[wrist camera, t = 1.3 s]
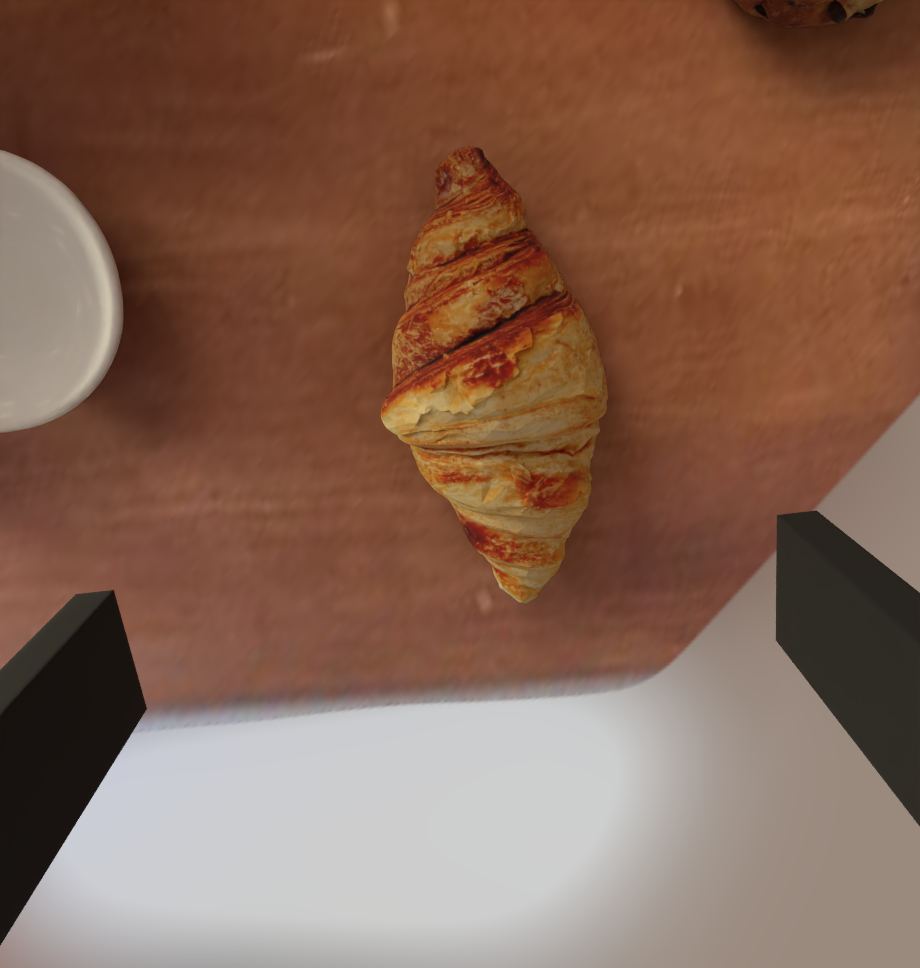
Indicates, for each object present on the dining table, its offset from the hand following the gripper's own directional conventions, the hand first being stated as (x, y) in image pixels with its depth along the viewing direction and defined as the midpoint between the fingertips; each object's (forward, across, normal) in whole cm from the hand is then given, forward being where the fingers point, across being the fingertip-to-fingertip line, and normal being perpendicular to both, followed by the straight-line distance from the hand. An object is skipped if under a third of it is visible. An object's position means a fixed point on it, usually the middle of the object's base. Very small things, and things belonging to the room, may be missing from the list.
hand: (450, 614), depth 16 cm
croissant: (+24, +2, 0) cm, 24 cm away
